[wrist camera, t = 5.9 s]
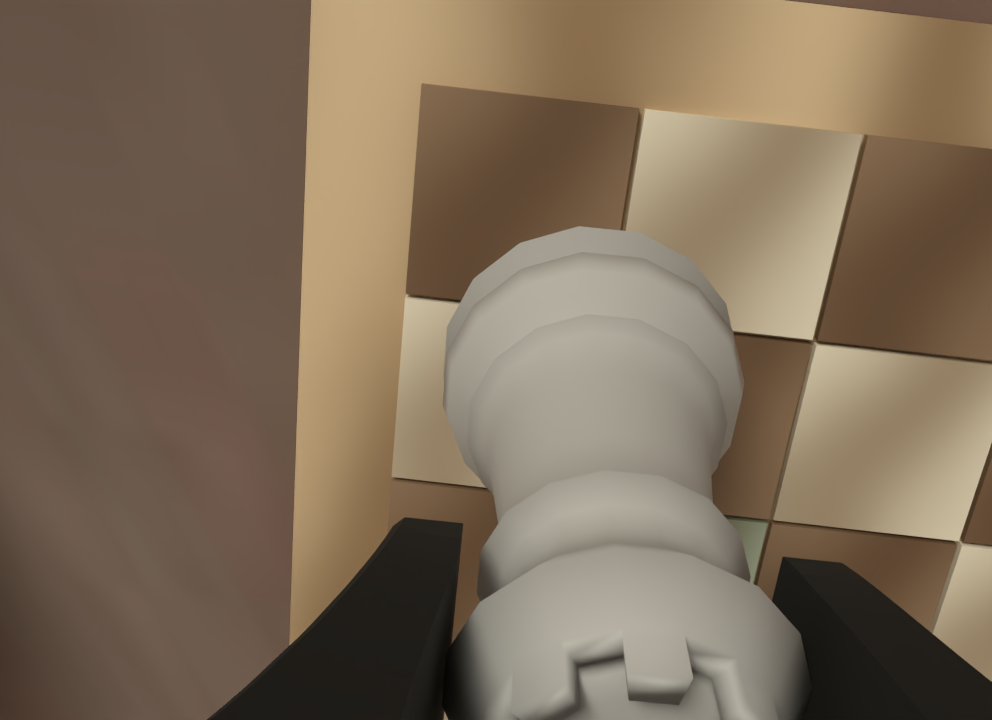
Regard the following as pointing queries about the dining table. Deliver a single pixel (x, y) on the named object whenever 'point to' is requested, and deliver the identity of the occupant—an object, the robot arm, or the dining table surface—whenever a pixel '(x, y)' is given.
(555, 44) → the chessboard
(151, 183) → the dining table surface
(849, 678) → the robot arm
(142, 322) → the dining table surface
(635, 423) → the rook chess piece
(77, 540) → the dining table surface
